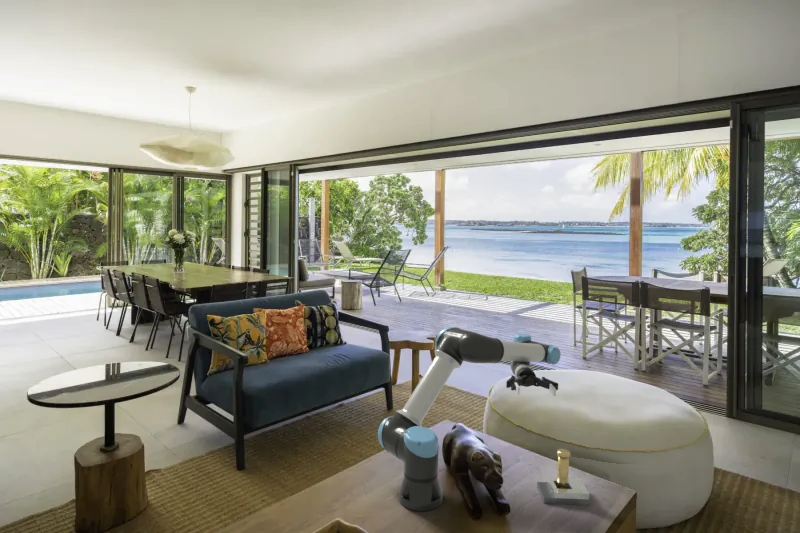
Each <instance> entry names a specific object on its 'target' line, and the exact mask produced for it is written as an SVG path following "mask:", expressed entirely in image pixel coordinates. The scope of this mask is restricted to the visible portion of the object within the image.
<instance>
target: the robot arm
mask: <svg viewBox="0 0 800 533" xmlns="http://www.w3.org/2000/svg"><path fill="white" fill-rule="evenodd" d="M434 345H435V349H434V358H433V359H432V361H431V363H430V364H429V367H427V369H426V371H425V372H424V374H423V376H422V377H421V379H420V380H419V381H418V383H417V385H416V387H415V388H414V390H413V392H412V393H411V395H410V396H409V397H408V400H407V401H406V403H405V405H403V408H402V409H398V410H396V411H395V413H394V414H393V416H388V417H386V418H384V419H383V421H382V422H381V423H380V425H379V427H378V430H377V438H378V439H377V440H378V442H379V445H380V446H381V447H382V448H383V449H384V450H385V451H386V452H387V453H390V454H391V455H392V456H395V458H397V459H398V460H400V461H401V462H403V478H402V482H401V484H400V486H399V491H398V501H399V503H400V504H401V506H403V507H405V508H406V509H408V510H411V511H415V512H417V511H418V512H428V511H432V510H435V509H437V508H439V507H440V506H441V505H442V503H443V499H444V498H443V490H442V486H441V483H440V480H439V473H438V472H439V451H440V450H439V438H438V435H437V434H436V432H435V431H433V429H430V428H429V427H426V426H425V427H423V426H422V423H423V421H424V419H425V417H426V416H427V414H428V413H429V411H430V409H431V408H432V406H433V404H434V402H435V401H436V399H437V398H438V396H439V394H440V392H441V391H442V389H443V388H444V387H445V384H446V383H447V381H448V380H449V378H450V376H451V374H452V373H453V371H454V370H455V369H458V368H460V367H461V365H463V363H464V362H467V363H469V364H470V363H471V364H499V363H500V362H511V363H510V369H511V371H512V374H513V375H511V377H510V378H508V379H507V380H506V386H505V387H506V389H507V388H508V389H510V390H511V391H514V392H515V393H516V395H517V396H518V395H520V394H521V393H520V387H524V388H525V387H526V388H528V387H532V386H534V387H540V388H544V389H547V390H549V392H550V393H551V395H552V396H553V397H556V396H557V391H559V383H558V382H555V381H554V380H551V379H550V378H549V379H548V378H546V377H545V376H541V378H540V377H538V376H537V375H536V373H535V371H534V370H533V369H532V368H531V363H544V364H545V363H546V364H548V365H557V364H558V363H559V361H560V360H561V349H559V348H558V347H557V346H553V345H550V344H545V343H543V342H542V343H541V342H537V341H534V340H532V336H531V335H530V334H527V333H516V334H514V336H513V341H503V340H501V339H500V338H498V337H491V336H487V335H484V334H481V333H477V332H474V331H469V330H466V329H463V328H460V327H456V326H455V327H453V326H448V327H444V328H443V329H442V330H440V331H439V333H438V334H437V335H436V337H435V343H434Z"/></svg>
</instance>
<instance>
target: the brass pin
mask: <svg viewBox="0 0 800 533" xmlns="http://www.w3.org/2000/svg"><path fill="white" fill-rule="evenodd" d="M571 453H572V452H571V451H570V450H569V449H566V448H557V450H556V455H557V476H556V477H557V489H568V478H569V473H570V472H569V470H570V469H569V468H570V458H571Z"/></svg>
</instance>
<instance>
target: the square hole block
mask: <svg viewBox="0 0 800 533" xmlns="http://www.w3.org/2000/svg"><path fill="white" fill-rule="evenodd" d="M536 489H537V490H538V493H539V495H540V497H541V499H542V502H543V504H555V505H576V506H577V505H578V506H579V505H581V506H582V505H583V506H590V492H589V491H588V489H587V487H586V486H585V483H583V481H582V480H581V478H580V477H568V489H557V476H554V477H553V476H547V477H546V481H536Z"/></svg>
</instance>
